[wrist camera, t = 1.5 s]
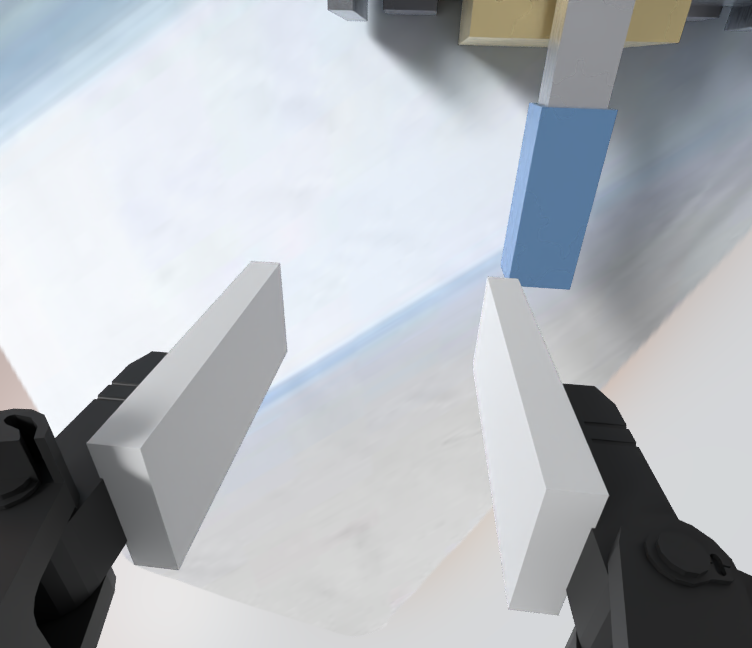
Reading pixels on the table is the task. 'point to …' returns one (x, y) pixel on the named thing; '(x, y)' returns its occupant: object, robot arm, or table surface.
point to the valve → (536, 12)
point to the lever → (565, 142)
